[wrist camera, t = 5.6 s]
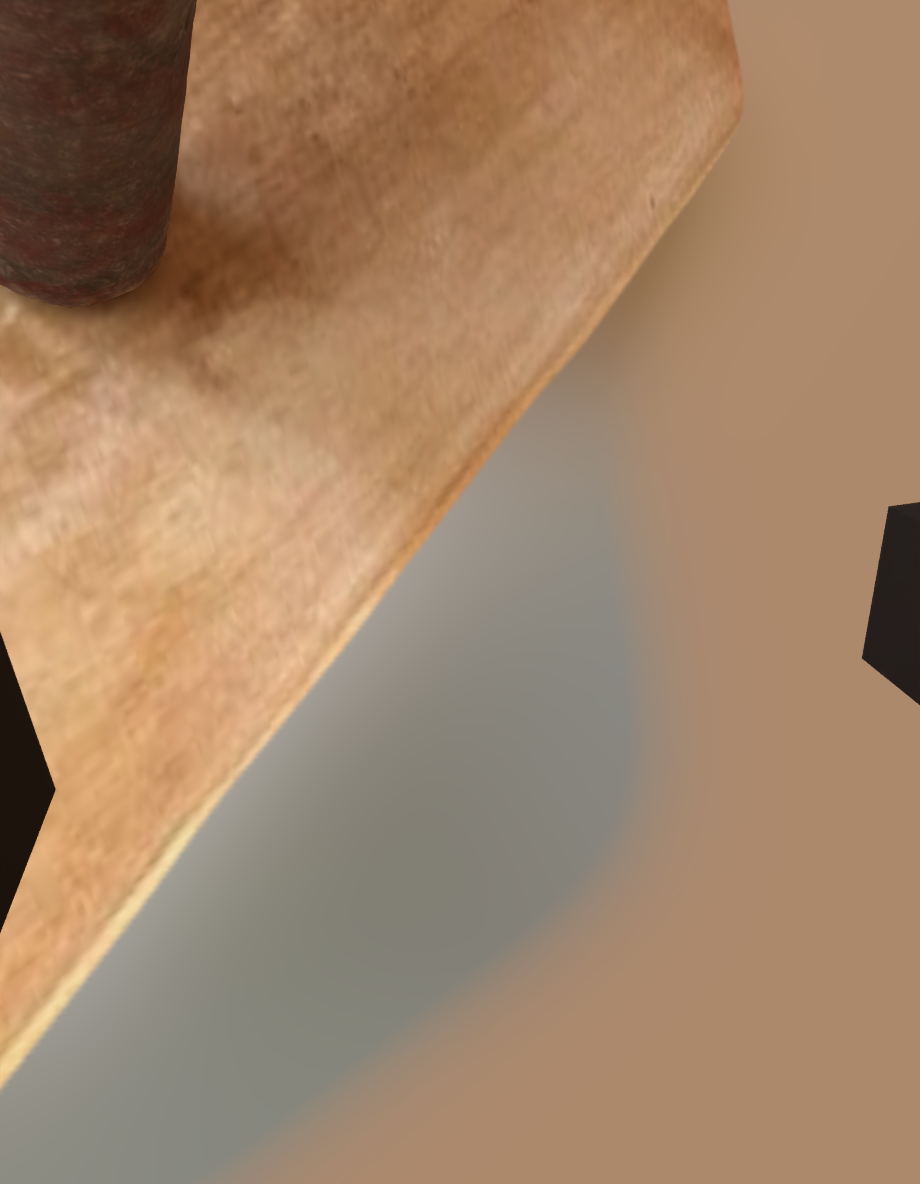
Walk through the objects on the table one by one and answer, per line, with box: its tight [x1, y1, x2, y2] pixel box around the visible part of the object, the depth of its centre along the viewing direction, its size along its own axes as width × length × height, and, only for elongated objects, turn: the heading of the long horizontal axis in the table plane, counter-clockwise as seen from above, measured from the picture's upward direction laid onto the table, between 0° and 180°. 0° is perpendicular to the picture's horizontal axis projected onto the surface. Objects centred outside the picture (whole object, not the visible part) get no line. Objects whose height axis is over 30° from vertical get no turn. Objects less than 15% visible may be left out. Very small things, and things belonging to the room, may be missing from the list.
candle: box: [0, 0, 197, 307], centre depth 21 cm, size 8×7×20 cm
